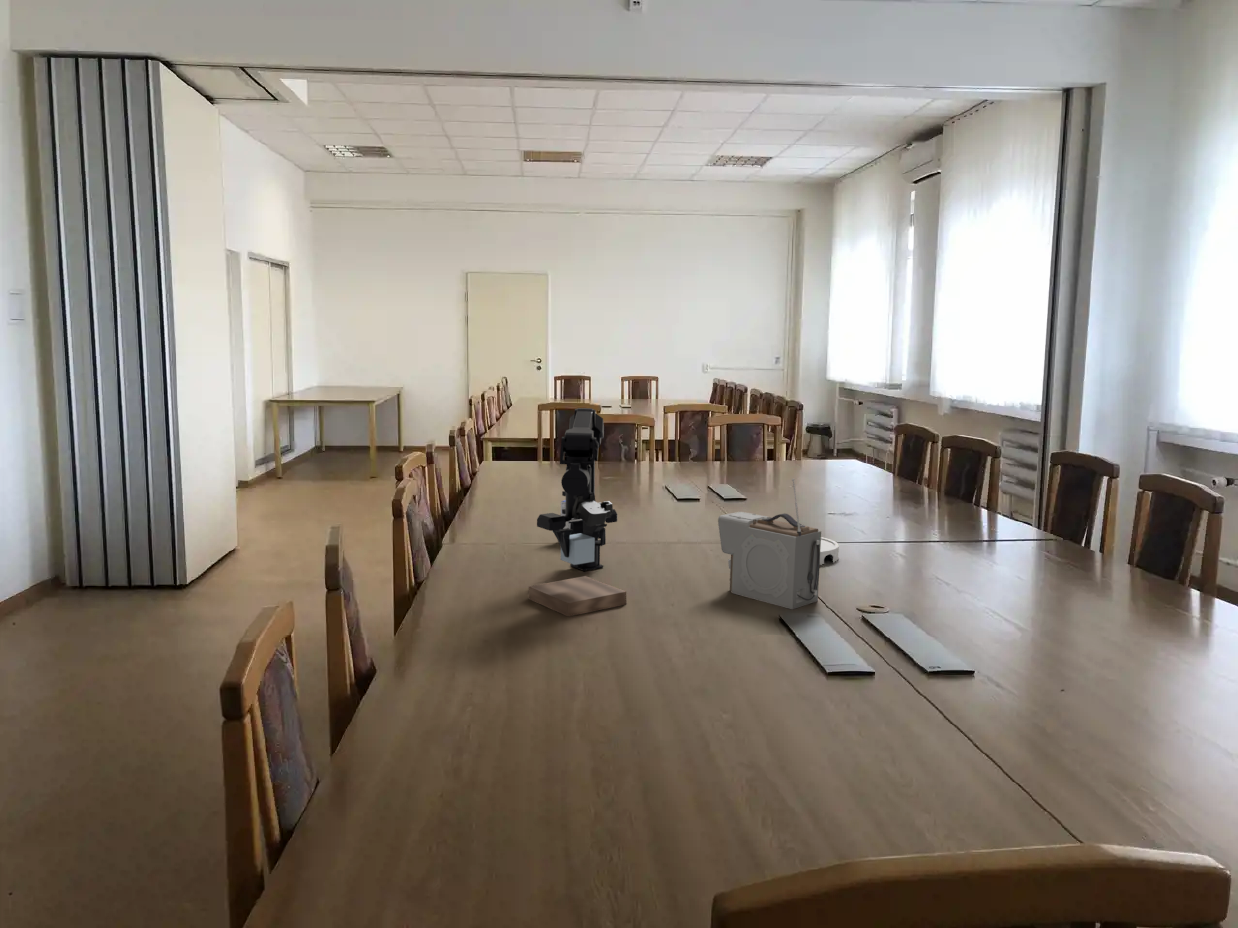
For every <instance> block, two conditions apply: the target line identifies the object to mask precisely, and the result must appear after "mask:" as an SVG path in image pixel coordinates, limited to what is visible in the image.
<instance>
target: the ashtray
mask: <svg viewBox="0 0 1238 928" xmlns="http://www.w3.org/2000/svg"><path fill="white" fill-rule="evenodd" d="M839 547H840V546H839V543H838V542H837V541H835V540H833V539H831V538H826V537H823V536H821V547H820V566H823V565H822V564H824V565H825V558H826V556H829V558H830V560H831V561H833V562H832V563H836V562H837V561H838V560H839V550H840V549H839ZM835 561H836V562H835Z"/></svg>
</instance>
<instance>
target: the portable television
mask: <svg viewBox="0 0 1238 928" xmlns="http://www.w3.org/2000/svg"><path fill="white" fill-rule="evenodd" d="M791 481H792V486H793V493H794V494H793V495H794V500H795V501H794V504H795V514H796V515H795V516H796V520H795V519H794V517H792V516H791V515H790V514H788V513H785V512H784V513H780V514H776V515H774V516H773V517H771V516H767V515H761V514H756V513H751V512H745V511H736V512H731V513H726V514H722V515H721V514H720V515H719V516H718V518H717V523H718V524H717V525H718V534H719V539H720V546H721V548H720V549H721V551H722V553H724V554H727V555H730V559H728V560H727V563H728V569H730V571H729V572H730V574H729V592H731V593H732V594H734V595H739V596H741V597H745V598H750V599H753V600H757V601H758V602H759V601H760V602H764V603H767V604H771V605H774V606H778V607H782V608H786V609H790V610H795V609H798V608H801V607H804V606H807V605H809V604H813V603H816V602H818V601H819V581H820V568H821V567H820V566H821V565H820V547H821V537H822V531H821V530H819V528H815V527H811V526H807V525H804V524H801V523H800V518H799V517H800V516H799V509H798V502H797V496H796V487H795V478H792V479H791ZM780 518H782V519H784V520H785V521H786V522H784V521H779V520H777V519H780Z"/></svg>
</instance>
